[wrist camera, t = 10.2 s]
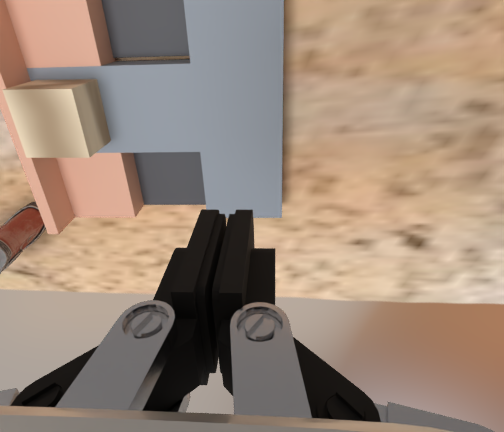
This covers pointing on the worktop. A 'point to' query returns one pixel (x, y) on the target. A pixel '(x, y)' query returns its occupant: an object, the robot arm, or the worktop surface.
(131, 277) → the worktop surface
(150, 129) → the trap board
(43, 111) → the maple block
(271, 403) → the robot arm
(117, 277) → the worktop surface
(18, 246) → the lighter
